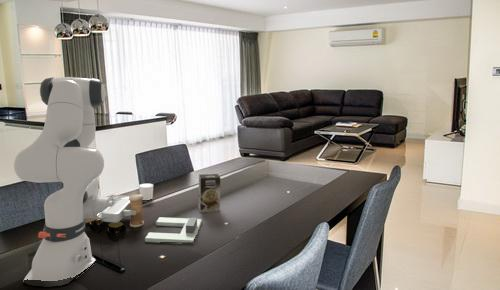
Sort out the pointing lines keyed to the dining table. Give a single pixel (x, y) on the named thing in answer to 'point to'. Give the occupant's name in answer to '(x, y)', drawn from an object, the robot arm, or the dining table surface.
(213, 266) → the dining table surface
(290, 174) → the dining table surface
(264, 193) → the dining table surface
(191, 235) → the notched board
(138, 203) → the bobbin
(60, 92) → the robot arm
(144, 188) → the shot glass
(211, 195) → the coffee box
